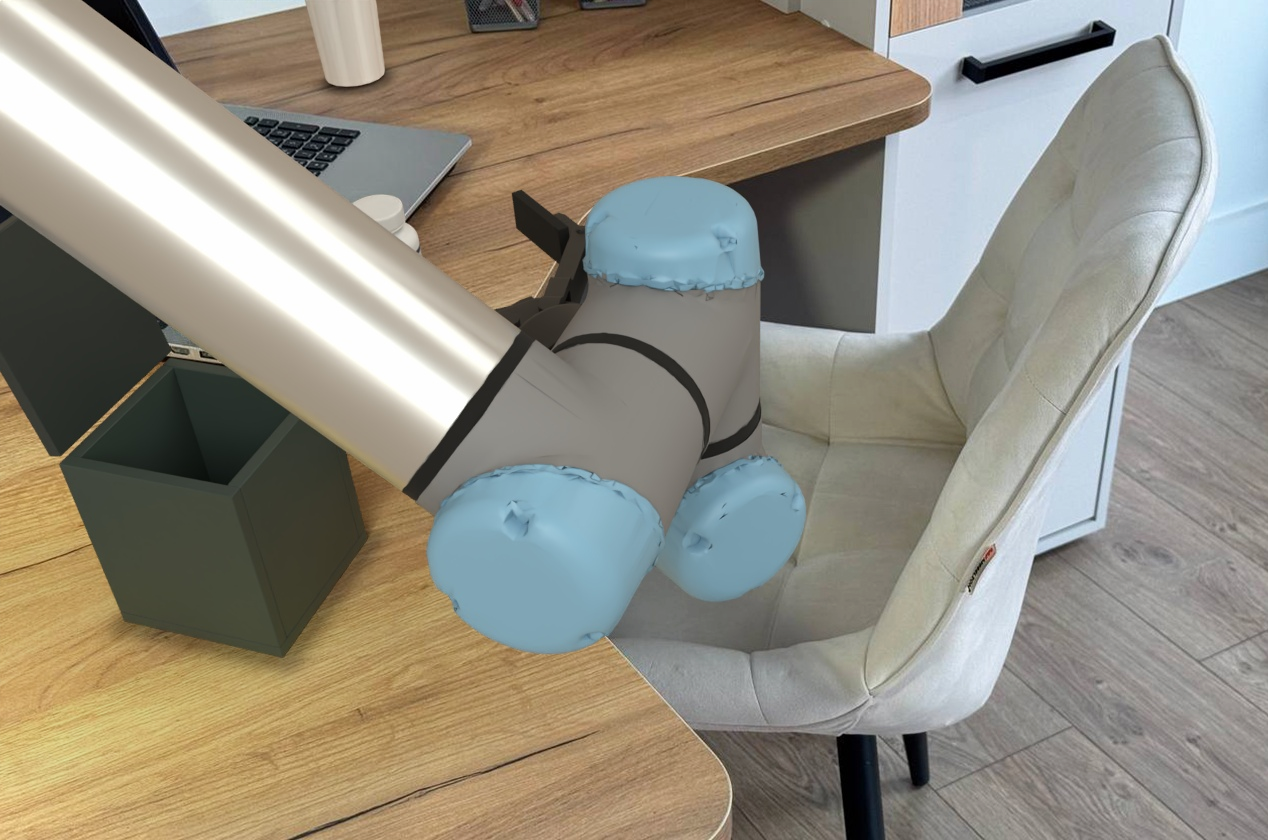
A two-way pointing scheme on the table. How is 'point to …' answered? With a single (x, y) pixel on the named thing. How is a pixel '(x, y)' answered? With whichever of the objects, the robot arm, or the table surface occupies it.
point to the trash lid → (67, 337)
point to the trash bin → (215, 509)
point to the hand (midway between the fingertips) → (427, 239)
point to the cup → (347, 40)
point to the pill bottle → (390, 217)
